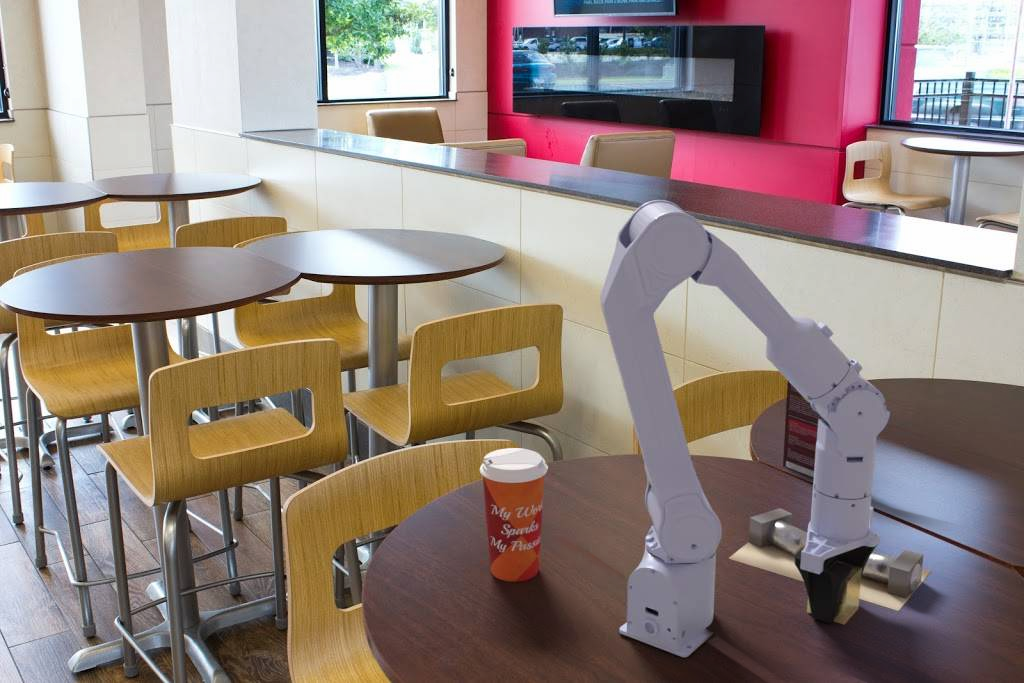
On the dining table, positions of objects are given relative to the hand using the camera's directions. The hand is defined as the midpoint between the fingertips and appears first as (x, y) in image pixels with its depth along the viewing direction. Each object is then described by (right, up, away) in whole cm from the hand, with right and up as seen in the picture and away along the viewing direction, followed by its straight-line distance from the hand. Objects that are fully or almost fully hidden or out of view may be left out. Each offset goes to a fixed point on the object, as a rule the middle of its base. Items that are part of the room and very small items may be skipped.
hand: (832, 608), depth 107 cm
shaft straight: (+8, +1, +6) cm, 10 cm away
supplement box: (+9, +8, +37) cm, 39 cm away
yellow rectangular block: (0, -1, 0) cm, 2 cm away
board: (+3, +1, +10) cm, 11 cm away
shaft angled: (-2, +4, +14) cm, 15 cm away
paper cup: (-33, +1, +12) cm, 35 cm away
